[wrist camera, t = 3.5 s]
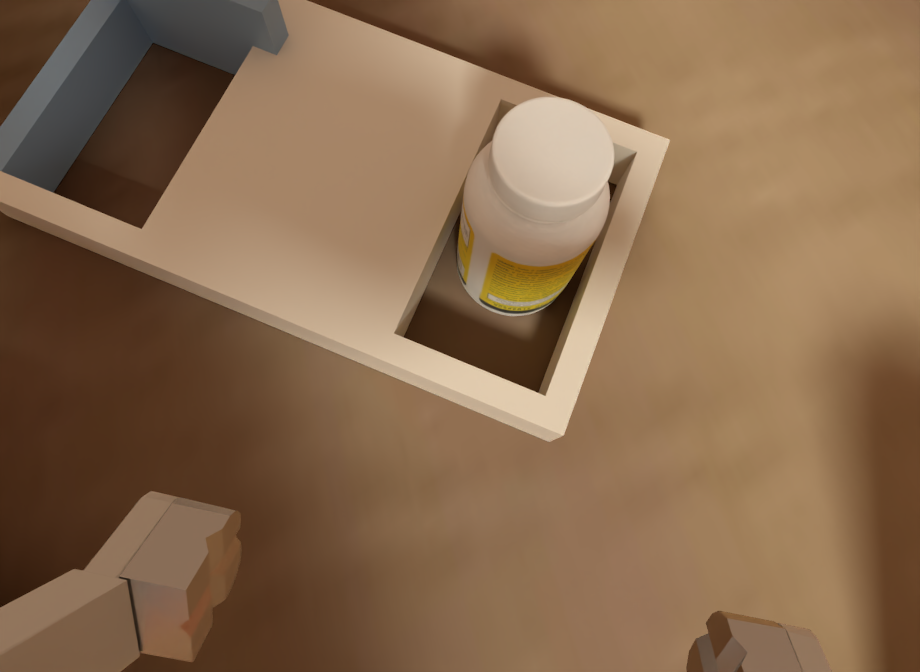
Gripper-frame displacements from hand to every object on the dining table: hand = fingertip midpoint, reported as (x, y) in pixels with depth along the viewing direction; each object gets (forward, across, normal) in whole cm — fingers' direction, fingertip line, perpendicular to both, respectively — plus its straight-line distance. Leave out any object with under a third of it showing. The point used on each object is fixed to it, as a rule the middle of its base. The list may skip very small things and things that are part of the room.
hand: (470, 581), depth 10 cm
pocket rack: (+21, +8, +1) cm, 23 cm away
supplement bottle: (+20, -1, +2) cm, 20 cm away
